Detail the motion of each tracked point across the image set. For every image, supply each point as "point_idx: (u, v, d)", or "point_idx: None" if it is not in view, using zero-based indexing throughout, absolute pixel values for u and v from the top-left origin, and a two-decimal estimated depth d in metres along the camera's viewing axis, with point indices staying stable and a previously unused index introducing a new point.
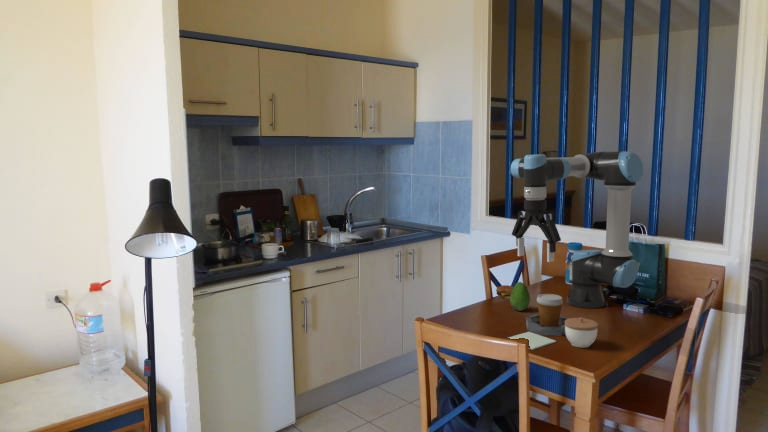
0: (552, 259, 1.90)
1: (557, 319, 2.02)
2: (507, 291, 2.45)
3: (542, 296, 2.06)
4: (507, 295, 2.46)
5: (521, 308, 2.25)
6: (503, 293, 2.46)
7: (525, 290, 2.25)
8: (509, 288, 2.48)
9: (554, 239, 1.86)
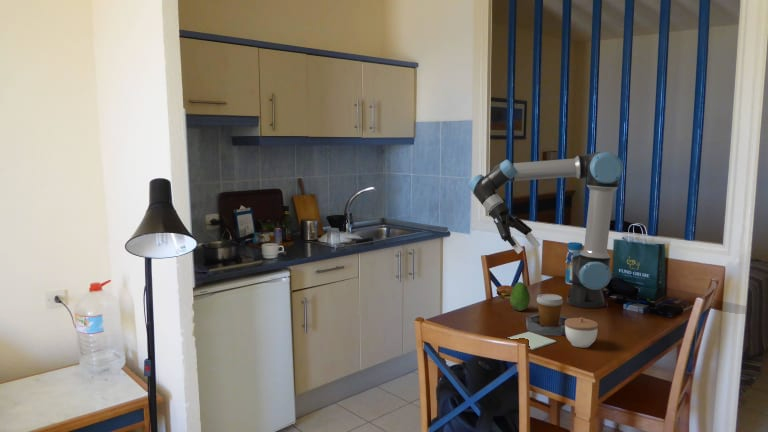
0: (520, 249, 2.09)
1: (557, 319, 2.02)
2: (507, 291, 2.45)
3: (542, 296, 2.06)
4: (507, 295, 2.46)
5: (521, 308, 2.25)
6: (503, 293, 2.46)
7: (525, 290, 2.25)
8: (509, 288, 2.48)
9: None
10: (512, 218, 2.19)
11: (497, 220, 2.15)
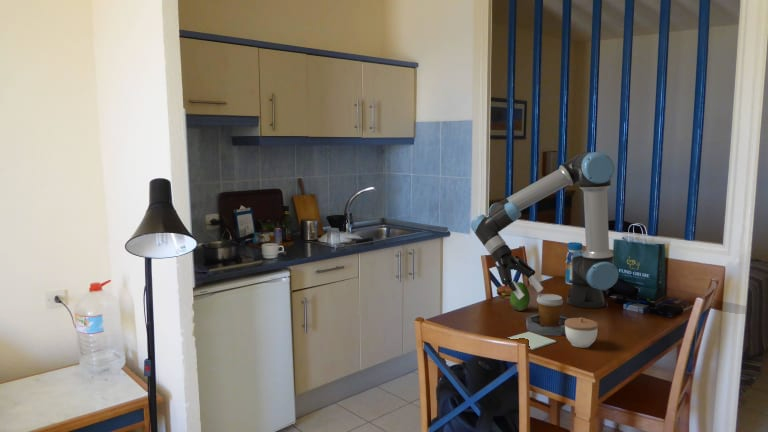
0: (521, 295, 2.03)
1: (557, 319, 2.02)
2: (507, 291, 2.45)
3: (542, 296, 2.06)
4: (507, 295, 2.46)
5: (521, 308, 2.25)
6: (503, 293, 2.46)
7: (525, 290, 2.25)
8: (509, 288, 2.48)
9: None
10: (514, 261, 2.14)
11: (498, 263, 2.09)
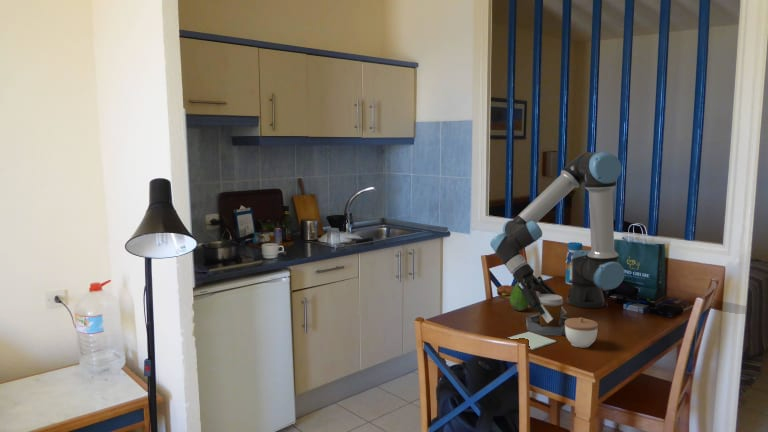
0: (549, 319, 1.99)
1: (557, 319, 2.02)
2: (508, 291, 2.45)
3: (542, 296, 2.06)
4: (508, 295, 2.46)
5: (521, 308, 2.25)
6: (504, 293, 2.46)
7: None
8: (510, 288, 2.48)
9: None
10: (536, 281, 2.08)
11: (522, 286, 2.04)
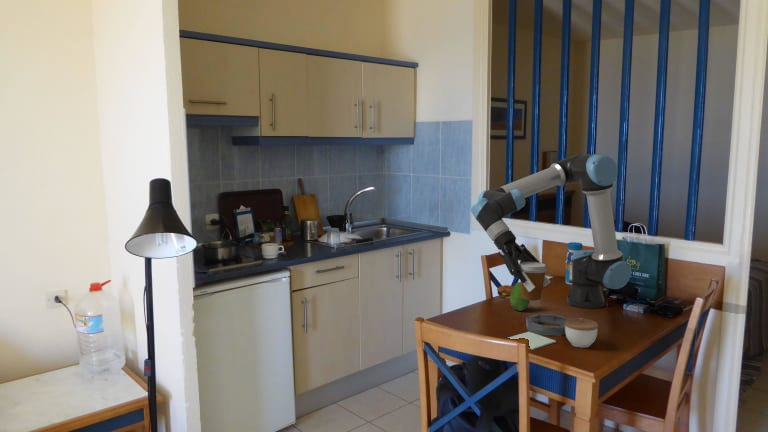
0: (531, 287, 1.85)
1: (540, 288, 1.88)
2: (508, 291, 2.45)
3: (524, 264, 1.92)
4: (508, 295, 2.46)
5: (521, 308, 2.25)
6: (504, 293, 2.46)
7: None
8: (510, 288, 2.48)
9: None
10: (518, 248, 1.95)
11: (503, 252, 1.90)
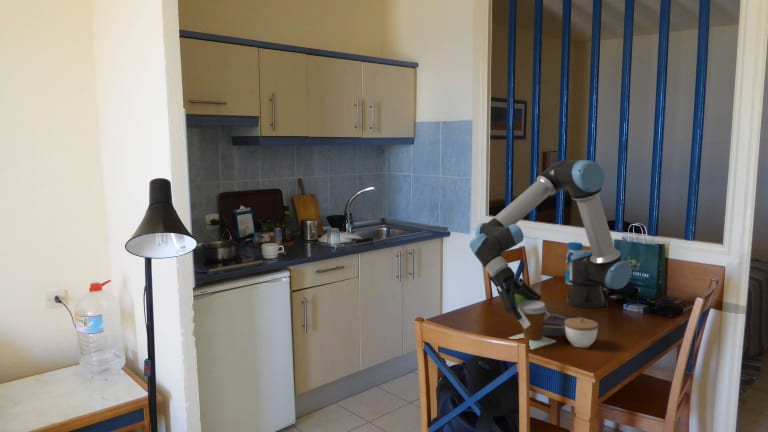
0: (526, 324, 1.85)
1: (541, 327, 1.90)
2: None
3: (524, 303, 1.94)
4: None
5: None
6: None
7: None
8: None
9: None
10: (518, 284, 1.95)
11: (501, 289, 1.91)
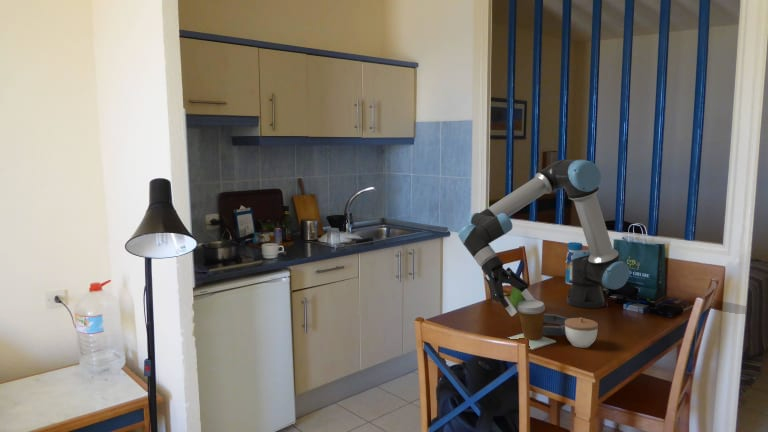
0: (513, 312, 1.87)
1: (540, 327, 1.90)
2: (508, 291, 2.46)
3: (523, 303, 1.94)
4: (508, 295, 2.46)
5: None
6: (504, 293, 2.47)
7: None
8: (510, 288, 2.48)
9: None
10: (506, 274, 1.97)
11: (488, 277, 1.93)
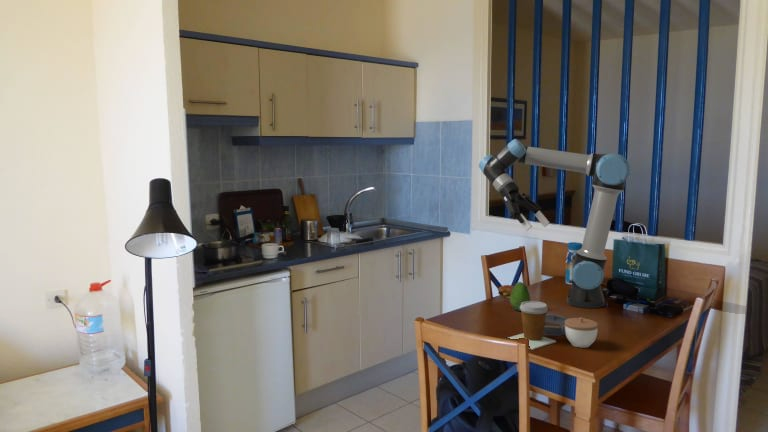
0: (528, 226, 2.12)
1: (541, 328, 1.91)
2: (509, 291, 2.46)
3: (526, 303, 1.94)
4: (509, 295, 2.46)
5: None
6: (505, 293, 2.47)
7: (525, 290, 2.25)
8: (511, 288, 2.48)
9: None
10: (521, 197, 2.23)
11: (506, 198, 2.19)
